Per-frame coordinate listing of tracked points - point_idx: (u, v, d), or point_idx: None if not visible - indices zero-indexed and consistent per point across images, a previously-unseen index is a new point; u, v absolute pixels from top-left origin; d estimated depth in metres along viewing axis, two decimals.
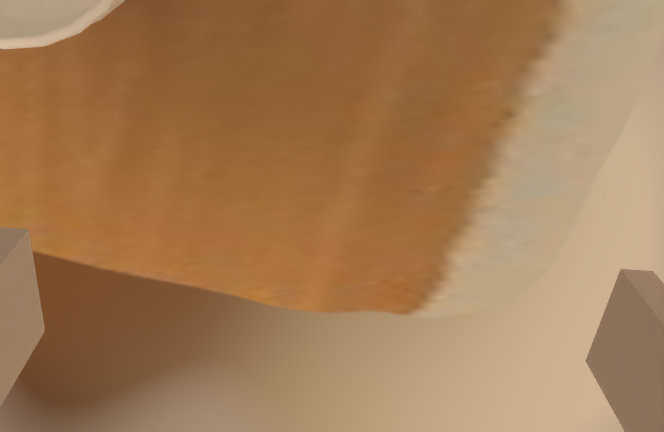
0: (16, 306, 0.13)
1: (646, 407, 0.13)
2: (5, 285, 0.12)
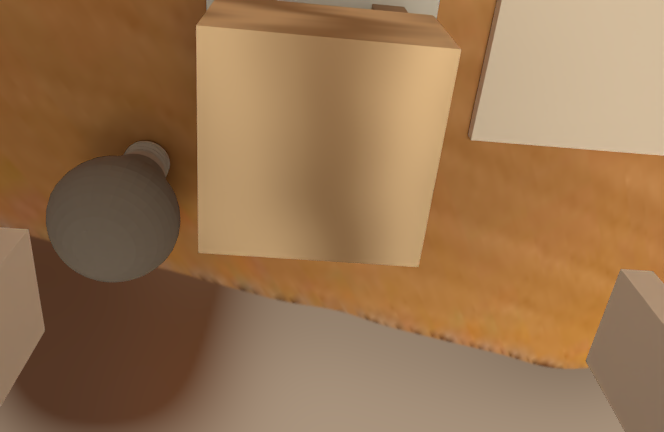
0: (16, 306, 0.13)
1: (646, 406, 0.13)
2: (5, 286, 0.12)
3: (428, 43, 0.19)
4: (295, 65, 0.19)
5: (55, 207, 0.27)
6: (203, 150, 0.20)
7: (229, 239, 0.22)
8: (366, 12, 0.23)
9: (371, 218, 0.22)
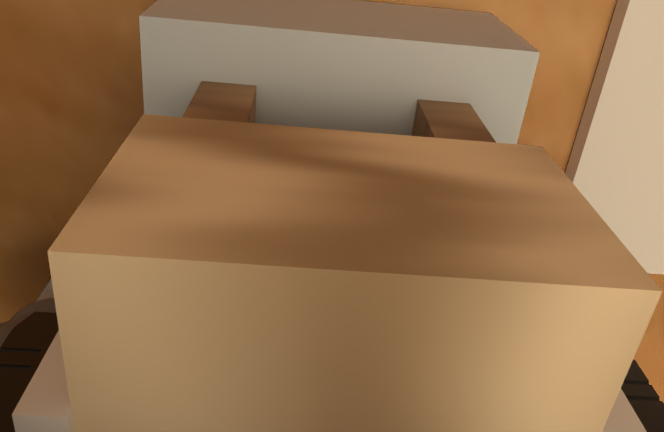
0: None
1: None
2: None
3: (580, 268, 0.09)
4: (284, 326, 0.08)
5: None
6: None
7: None
8: (422, 149, 0.12)
9: None
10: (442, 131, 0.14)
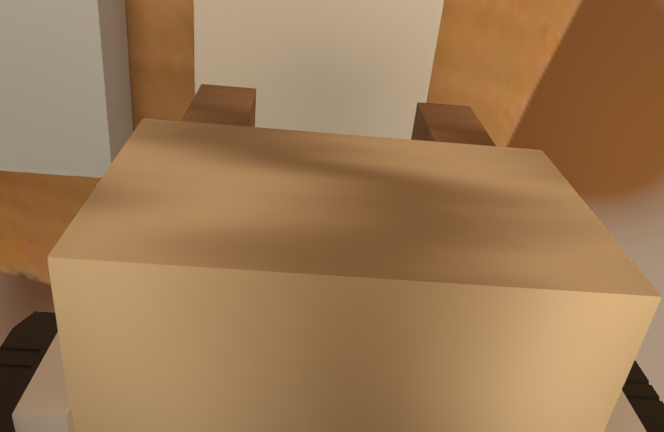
0: None
1: None
2: None
3: (580, 273, 0.09)
4: (284, 331, 0.08)
5: None
6: None
7: None
8: (422, 153, 0.12)
9: None
10: (442, 134, 0.14)
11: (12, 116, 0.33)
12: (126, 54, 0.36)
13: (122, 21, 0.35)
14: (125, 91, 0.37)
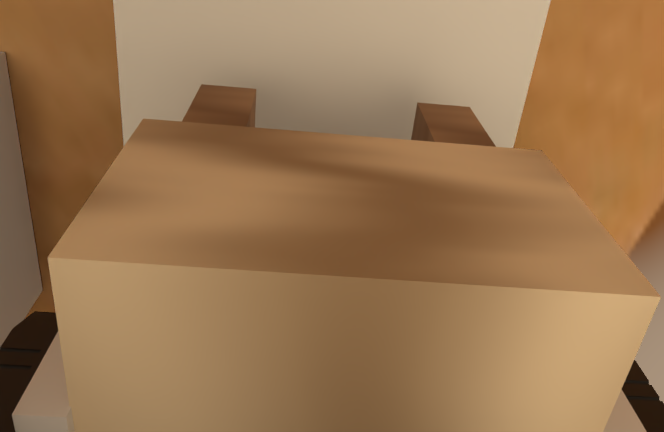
0: None
1: None
2: None
3: (580, 273, 0.09)
4: (284, 331, 0.08)
5: None
6: None
7: None
8: (422, 153, 0.12)
9: None
10: (442, 135, 0.14)
11: None
12: (17, 166, 0.23)
13: (4, 119, 0.22)
14: (17, 224, 0.23)
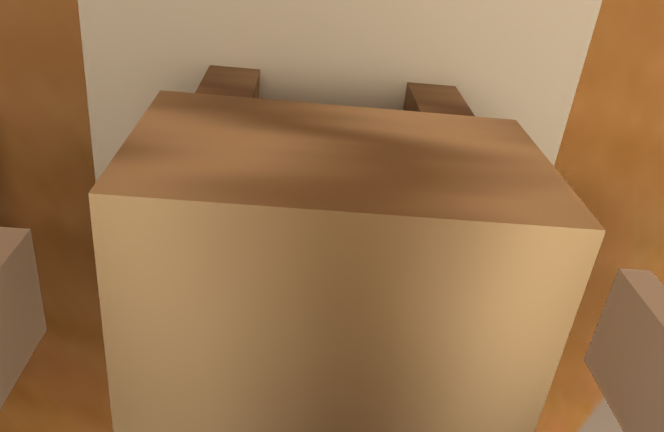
0: (18, 305, 0.13)
1: (644, 406, 0.13)
2: (7, 285, 0.12)
3: (538, 213, 0.10)
4: (286, 260, 0.10)
5: None
6: (120, 391, 0.11)
7: None
8: (408, 120, 0.13)
9: None
10: (429, 109, 0.16)
11: None
12: None
13: None
14: None
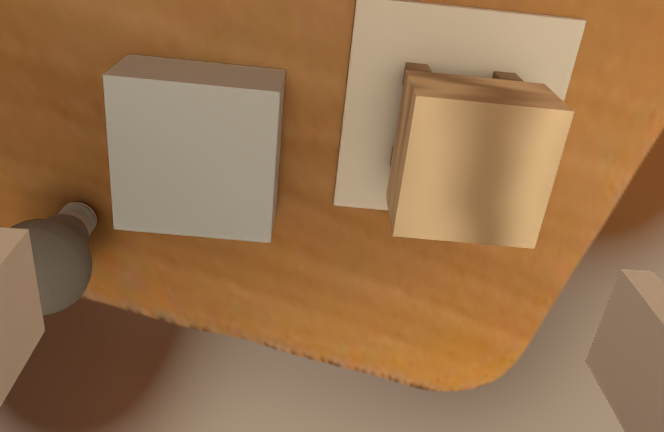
0: (16, 306, 0.13)
1: (646, 407, 0.13)
2: (5, 286, 0.12)
3: (553, 107, 0.31)
4: (472, 120, 0.31)
5: None
6: (407, 170, 0.33)
7: (414, 227, 0.34)
8: (502, 82, 0.35)
9: (507, 215, 0.34)
10: None
11: (192, 189, 0.38)
12: (281, 132, 0.42)
13: (282, 105, 0.40)
14: (278, 164, 0.42)
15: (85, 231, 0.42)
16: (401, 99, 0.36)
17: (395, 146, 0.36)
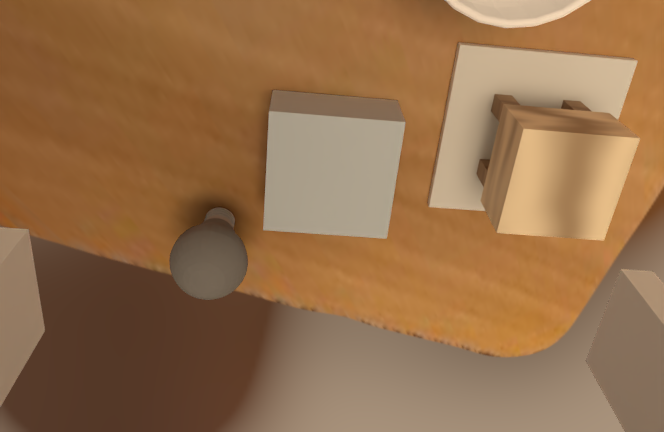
0: (16, 306, 0.13)
1: (646, 407, 0.13)
2: (5, 285, 0.12)
3: (623, 134, 0.42)
4: (564, 145, 0.42)
5: (179, 256, 0.47)
6: (512, 183, 0.43)
7: (513, 226, 0.45)
8: (578, 113, 0.45)
9: (584, 215, 0.44)
10: (576, 109, 0.48)
11: (329, 198, 0.49)
12: None
13: None
14: None
15: (234, 231, 0.52)
16: (498, 126, 0.46)
17: (493, 162, 0.47)
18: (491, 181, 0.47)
